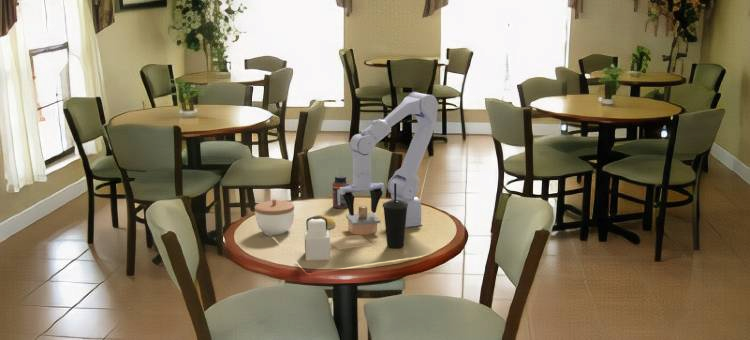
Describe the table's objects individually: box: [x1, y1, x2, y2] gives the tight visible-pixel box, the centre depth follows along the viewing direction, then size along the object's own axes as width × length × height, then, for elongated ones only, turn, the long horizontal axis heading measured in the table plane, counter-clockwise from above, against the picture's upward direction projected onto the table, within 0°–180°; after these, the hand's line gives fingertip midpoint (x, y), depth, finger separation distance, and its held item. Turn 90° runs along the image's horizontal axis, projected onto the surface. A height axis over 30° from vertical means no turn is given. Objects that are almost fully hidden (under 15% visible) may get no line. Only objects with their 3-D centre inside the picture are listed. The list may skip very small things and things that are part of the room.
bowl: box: [347, 219, 378, 236], centre depth 248 cm, size 9×9×4 cm
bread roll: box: [313, 214, 336, 231], centre depth 253 cm, size 8×9×4 cm
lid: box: [345, 205, 381, 225], centre depth 247 cm, size 9×9×4 cm
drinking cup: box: [382, 183, 408, 250], centre depth 231 cm, size 8×8×20 cm
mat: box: [330, 234, 373, 251], centre depth 237 cm, size 11×11×1 cm
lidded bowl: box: [254, 198, 295, 237], centre depth 247 cm, size 13×13×11 cm
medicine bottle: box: [304, 215, 331, 261], centre depth 224 cm, size 7×7×12 cm
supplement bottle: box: [332, 174, 350, 209], centre depth 276 cm, size 6×6×11 cm
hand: (362, 213), depth 247 cm, fingers open, 7 cm apart
